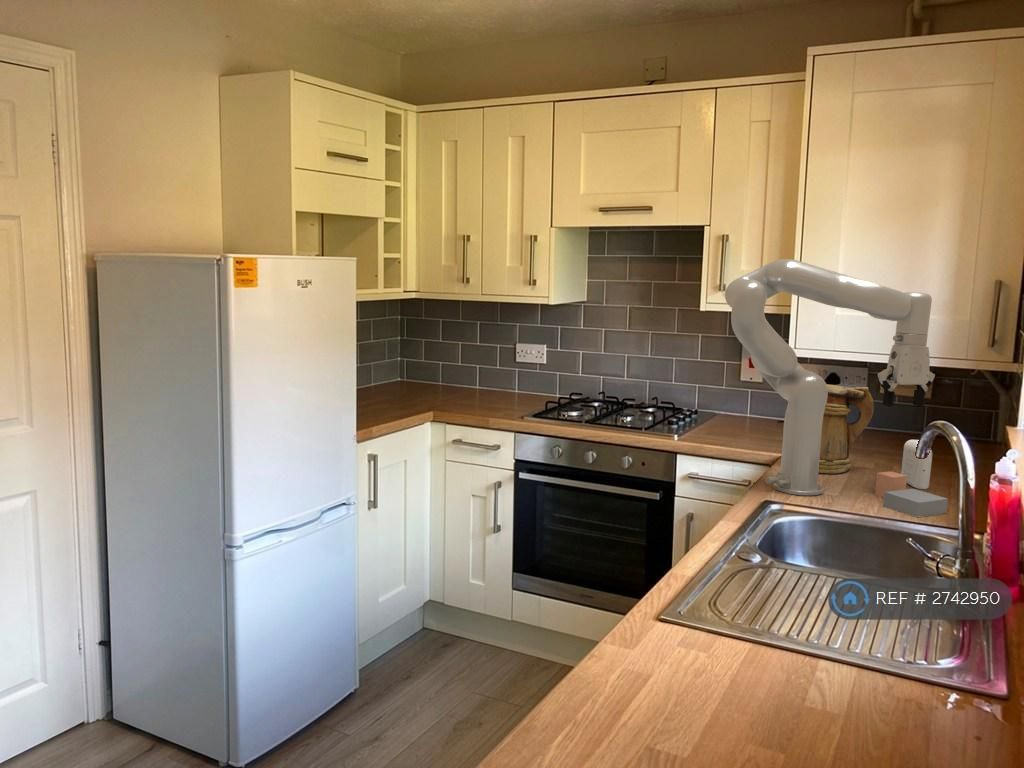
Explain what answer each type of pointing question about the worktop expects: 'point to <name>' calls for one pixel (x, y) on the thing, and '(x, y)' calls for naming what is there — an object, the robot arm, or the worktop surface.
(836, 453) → the tankard
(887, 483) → the terracotta block
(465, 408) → the worktop surface
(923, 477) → the photo printer
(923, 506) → the slate block
